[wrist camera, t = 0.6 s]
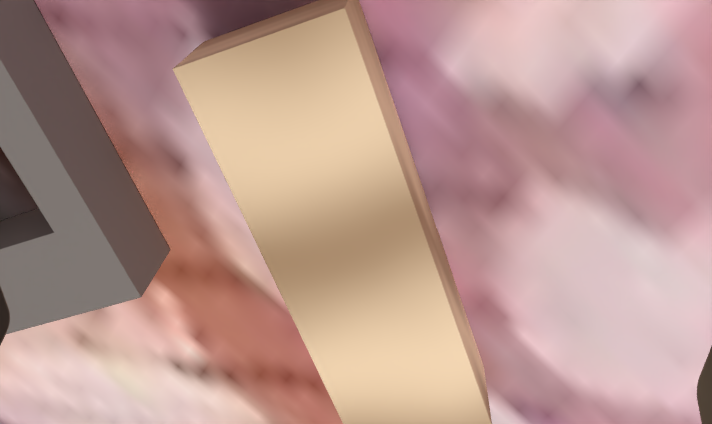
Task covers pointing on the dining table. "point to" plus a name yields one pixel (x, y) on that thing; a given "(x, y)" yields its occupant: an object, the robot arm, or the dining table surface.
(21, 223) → the grey piece
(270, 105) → the beech clip
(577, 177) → the dining table surface
